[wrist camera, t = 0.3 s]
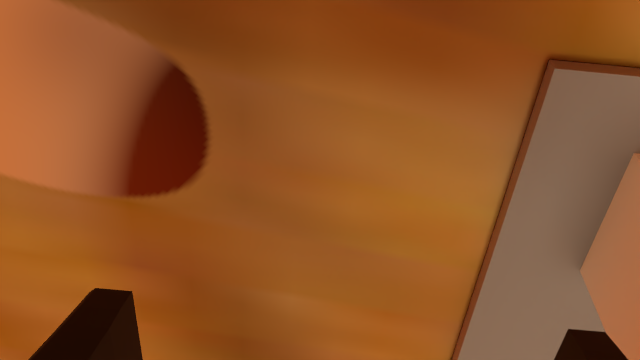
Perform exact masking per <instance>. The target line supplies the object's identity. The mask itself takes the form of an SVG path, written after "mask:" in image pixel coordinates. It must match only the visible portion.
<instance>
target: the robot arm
mask: <svg viewBox="0 0 640 360" xmlns="http://www.w3.org/2000/svg"><path fill="white" fill-rule="evenodd" d="M29 360H143V359H142V353H141V346H140V340H139V333H138V327H137V320H136V313H135V307H134V300H133V294H132V291H123V290H111V289H99V288H95V289H94V290H92V291H91V292H89V294H88V295H87V296H86V297H85V298H84V299H83V300H82V301H81V303H80V304H79V305H78V306H77V307H76V308H75V309H74V310H73V312H72V313H71V314H70V315H69V316H68V317H67V318H66V319H65V320H64V322H63V323H62V324H61V325H60V326H59V327H58V328H57V329H56V330H55V332H54V333H53V334H52V335H51V336H50V337H49V338H48V339H47V340H46V341H45V342H44V343H43V345H42V346H41V347H40V348H39V349H38V350H37V351H36V352H35V353H34V354H33V355H32V356H31V357H30V358H29ZM554 360H628V359H627V358H626V356H625V355H624V354H623V353H622V351H621V350H620V349H619V348H618V347H617V345H616V344H615V343H614V342H613V341H612V339H611V338H610V337H609V336H608V335H607V334H606V332H600V331H588V330H576V329H568V330H567V333H566V335H565V337H564V339H563V341H562V343H561V346H560V348H559V350H558V352H557V354H556V356H555V358H554Z"/></svg>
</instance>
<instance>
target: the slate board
mask: <svg viewBox="0 0 640 360" xmlns="http://www.w3.org/2000/svg"><path fill="white" fill-rule="evenodd" d="M634 153H637V154H640V68H633V67H622V66H612V65H601V64H591V63H580V62H570V61H559V60H549V62H548V65H547V68H546V71H545V74H544V77H543V80H542V84H541V87H540V90H539V93H538V96H537V99H536V102H535V105H534V108H533V111H532V114H531V117H530V120H529V124H528V127H527V130H526V133H525V136H524V139H523V142H522V145H521V148H520V151H519V154H518V157H517V160H516V163H515V167H514V170H513V173H512V176H511V179H510V182H509V185H508V188H507V191H506V194H505V197H504V200H503V203H502V206H501V210H500V213H499V216H498V219H497V222H496V225H495V228H494V231H493V234H492V237H491V240H490V243H489V246H488V250H487V253H486V256H485V259H484V262H483V265H482V268H481V271H480V274H479V277H478V280H477V283H476V286H475V289H474V293H473V296H472V299H471V302H470V305H469V308H468V311H467V314H466V317H465V320H464V323H463V326H462V329H461V332H460V336H459V339H458V342H457V345H456V348H455V351H454V354H453V357H452V360H554V358H555V356H556V354H557V352H558V350H559V348H560V346H561V343H562V341H563V339H564V337H565V335H566V333H567V330H568V329H576V330H588V331H600V332H605V329H604V327H603V324H602V322H601V320H600V317H599V315H598V313H597V310H596V308H595V306H594V303H593V301H592V298H591V296H590V294H589V291H588V289H587V287H586V284H585V282H584V280H583V277H582V275H581V272H580V269H581V267H582V265H583V263H584V261H585V258H586V256H587V254H588V252H589V250H590V247H591V245H592V243H593V241H594V239H595V237H596V234H597V232H598V230H599V228H600V226H601V223H602V221H603V219H604V217H605V215H606V213H607V210H608V208H609V206H610V204H611V202H612V199H613V197H614V195H615V193H616V191H617V189H618V186H619V184H620V182H621V180H622V178H623V175H624V173H625V171H626V169H627V167H628V165H629V162H630V160H631V158H632V156H633V154H634Z"/></svg>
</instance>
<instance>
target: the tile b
mask: <svg viewBox="0 0 640 360" xmlns="http://www.w3.org/2000/svg"><path fill="white" fill-rule="evenodd" d="M580 272H581V275H582V277H583V280H584V282H585V284H586V287H587V289H588V291H589V294H590V296H591V298H592V301H593V303H594V306H595V308H596V310H597V313H598V315H599V317H600V320H601V322H602V324H603V327H604V329H605V332H606V334H607V335H608V336H609V337H610V338H611V339H612V341H613V342H614V343H615V344H616V345H617V347H618V348H619V349H620V350H621V351H622V353H623V354H624V355H625V356H626V358H627V359H628V360H640V154H637V153H634V154H633V156H632V158H631V160H630V162H629V165H628V167H627V169H626V171H625V173H624V175H623V178H622V180H621V182H620V184H619V186H618V189H617V191H616V193H615V195H614V197H613V199H612V202H611V204H610V206H609V208H608V210H607V213H606V215H605V217H604V219H603V221H602V223H601V226H600V228H599V230H598V232H597V234H596V237H595V239H594V241H593V243H592V245H591V247H590V250H589V252H588V254H587V256H586V258H585V261H584V263H583V265H582V267H581V269H580Z"/></svg>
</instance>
